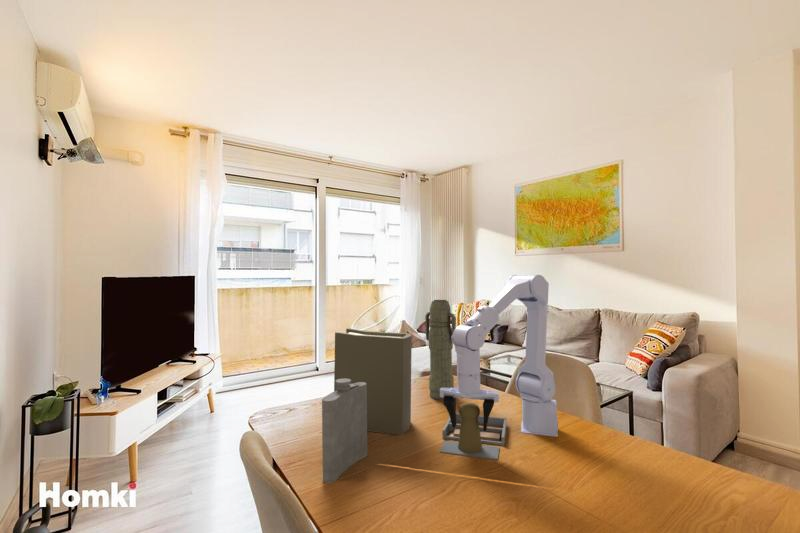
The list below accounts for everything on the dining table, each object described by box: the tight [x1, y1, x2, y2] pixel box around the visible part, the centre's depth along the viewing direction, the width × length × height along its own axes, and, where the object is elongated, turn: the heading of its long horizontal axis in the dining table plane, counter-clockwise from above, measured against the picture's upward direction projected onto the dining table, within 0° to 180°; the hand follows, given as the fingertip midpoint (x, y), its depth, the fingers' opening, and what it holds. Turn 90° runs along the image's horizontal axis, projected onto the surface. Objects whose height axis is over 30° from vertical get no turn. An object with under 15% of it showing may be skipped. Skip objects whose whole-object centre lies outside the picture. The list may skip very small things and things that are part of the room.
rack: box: [441, 412, 508, 446], centre depth 109 cm, size 16×14×2 cm
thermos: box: [424, 299, 457, 401], centre depth 142 cm, size 9×12×35 cm
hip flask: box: [321, 378, 368, 484], centre depth 91 cm, size 16×4×20 cm, turn 154°
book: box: [333, 327, 413, 436], centre depth 115 cm, size 22×9×28 cm, turn 74°
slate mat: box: [439, 440, 500, 461], centre depth 97 cm, size 14×6×1 cm, turn 72°
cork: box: [457, 402, 483, 453], centre depth 98 cm, size 6×6×11 cm
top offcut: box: [452, 429, 501, 442], centre depth 105 cm, size 12×4×1 cm, turn 72°
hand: (469, 427), depth 97 cm, fingers open, 7 cm apart
